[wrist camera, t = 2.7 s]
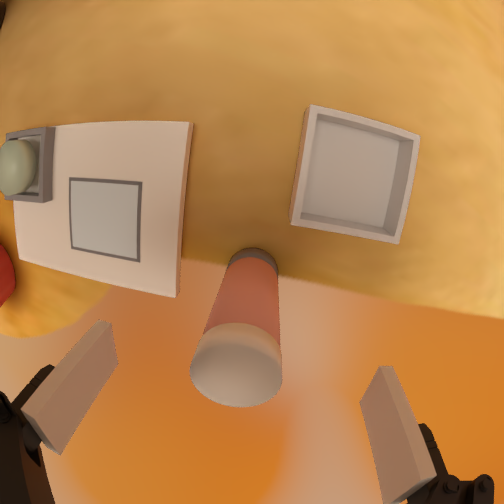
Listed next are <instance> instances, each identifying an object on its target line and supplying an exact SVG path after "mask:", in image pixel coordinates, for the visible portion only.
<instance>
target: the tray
mask: <svg viewBox="0 0 504 504" xmlns="http://www.w3.org/2000/svg"><path fill="white" fill-rule="evenodd" d="M419 143H420V135H417V134H415V133H412V132H409V131H406V130H403V129H401V128H398V127H395V126H392V125H389V124H386V123H382V122H379V121H376V120H373V119H369V118H366V117H362V116H359V115H355V114H351V113H347V112H343V111H339V110H335V109H331V108H326V107H322V106H317V105H312V104H310V106H309V107H308V108H307V109H306V111H305V114H304V121H303V128H302V134H301V141H300V147H299V154H298V160H297V166H296V172H295V178H294V184H293V190H292V196H291V202H290V208H289V213H288V216H289V220H290V223H291V225H294V226H300V227H306V228H312V229H318V230H324V231H329V232H335V233H340V234H346V235H351V236H357V237H362V238H367V239H373V240H378V241H383V242H388V243H393V244H399V241H400V237H401V233H402V229H403V225H404V221H405V217H406V213H407V209H408V204H409V200H410V195H411V190H412V185H413V180H414V175H415V169H416V163H417V157H418V151H419Z"/></svg>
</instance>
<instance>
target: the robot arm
mask: <svg viewBox="0 0 504 504" xmlns="http://www.w3.org/2000/svg"><path fill="white" fill-rule="evenodd" d="M4 13H5V4H4V2H2V1H0V26H1V24H2V21H3V17H4ZM117 365H118V360H117V355H116V349H115V344H114V338H113V331H112V325H111V323H109V322H106V321H102V320H98V321H97V322H96V323H95V324H94V325H93V326H92V327H91V328H90V329H89V330H88V331H87V332H86V334H85V335H84V336H83V337H82V338H81V339H80V340H79V341H78V342H77V343H76V344H75V346H74V347H73V348H72V349H71V350H70V351H69V352H68V353H67V354H66V356H65V357H64V358H63V359H62V360H61V361H60V363H59V364H58V365H57V366H56V367H54V366H52V365H50V364H49V365H47V366H46V367H44V368H42V369H40V371H39V372H38V373H37V374H36V375H35V376H34V378H32V380H31V381H30V383H29V384H27V385H26V387H25V388H24V389H23V390H22V391H21V392H20V394H19V395H18V396H17V397H16V398H15V400H14V401H13V402H12V403H10V401H9V400H8V398H7V396H6V395H5V394H4V393H3V392H1V391H0V504H55V501H54V498H53V495H52V492H51V488H50V485H49V481H48V478H47V473H46V469H45V465H44V461H43V456H42V451H41V448H40V445H39V444H40V443H41V441H42V442H43V443H44V444H45V446H46V447H47V448H49V449H51V450H52V451H54V452H55V453H57V454H59V455H61V454H62V452H63V450H64V449H65V447H66V445H67V443H68V442H69V440H70V439H71V437H72V435H73V434H74V432H75V430H76V428H77V427H78V426H79V424H80V422H81V421H82V419H83V417H84V416H85V414H86V412H87V411H88V409H89V408H90V406H91V405H92V403H93V402H94V400H95V398H96V397H97V395H98V394H99V392H100V391H101V389H102V387H103V386H104V384H105V383H106V382H107V380H108V379H109V377H110V375H111V374H112V373H113V371H114V369H115V368H116V367H117ZM360 406H361V410H362V413H363V417H364V421H365V425H366V429H367V432H368V436H369V440H370V445H371V449H372V453H373V457H374V462H375V465H376V470H377V475H378V479H379V484H380V489H381V494H382V499H383V504H399V503H401V502H402V501H404V500H405V499H407V501H408V503H407V504H493V503H494V482H493V479H492V478H491V477H490V476H489V475H486V474H483V475H480V476H479V477H477V478H476V479H475V480H473V481H460V480H459V479H458V478H457V477H455V476H454V475H449V474H448V472H447V470H446V467H445V464H444V462H443V459H442V456H441V454H440V451H439V449H438V448H437V444H436V442H435V441H434V437H433V434H432V432H431V430H430V429H429V428H428V427H427V426H426V424H424V423H422V424H418V423H417V421H416V418H415V416H414V414H413V411H412V409H411V407H410V404H409V402H408V399H407V397H406V395H405V393H404V390H403V388H402V386H401V384H400V382H399V379H398V377H397V375H396V373H395V371H394V368H393V366H379V368H378V370H377V372H376V374H375V375H374V377H373V379H372V381H371V383H370V385H369V387H368V388H367V390H366V392H365V394H364V396H363V397H362V399H361V401H360Z"/></svg>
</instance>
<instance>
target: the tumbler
mask: <svg viewBox="0 0 504 504" xmlns="http://www.w3.org/2000/svg"><path fill="white" fill-rule="evenodd" d="M190 377H191V380H192V382H193V384H194V386H195V387H196V388H197V389H198V391H200V392H201V393H202V394H203V395H204V396H206V397H207V398H209V399H210V400H212V401H215V402H217V403H220V404H223V405H227V406H232V407H250V406H256V405H259V404H262V403H264V402H266V401H268V400H270V399H271V398H272V397H273V396H274V395H276V394H277V392H278V391H279V389H280V387H281V384H282V357H281V350H280V324H279V297H278V269H277V265H276V262H275V260H274V259H273V257H272V256H271V255H270V254H269V253H267V252H266V251H264V250H261V249H258V248H246V249H243V250H240V251H239V252H237V253H236V254H235V255H234V256H233V257H232V258H231V260H230V262H229V264H228V267H227V270H226V273H225V276H224V278H223V281H222V284H221V287H220V289H219V292H218V294H217V297H216V300H215V303H214V305H213V308H212V311H211V314H210V316H209V319H208V322H207V324H206V327H205V330H204V333H203V336H202V337H201V339H200V341H199V344H198V346H197V349H196V352H195V354H194V357H193V360H192V363H191V366H190Z"/></svg>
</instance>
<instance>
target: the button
mask: <svg viewBox="0 0 504 504" xmlns="http://www.w3.org/2000/svg"><path fill="white" fill-rule="evenodd" d="M35 173H36V155H35V151H34V148H33V146H32V144H31V143H30V142H29V141H27V140H12V141H7V142H5V143H4V144H3V145H2V147H1V148H0V190H1V192H2V193H3V194H5V195H6V196H11V195H14V194H18V193H21V192H24V191H26V190H28V189H29V187H30V186H31V184H32V183H33V180H34V177H35Z"/></svg>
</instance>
